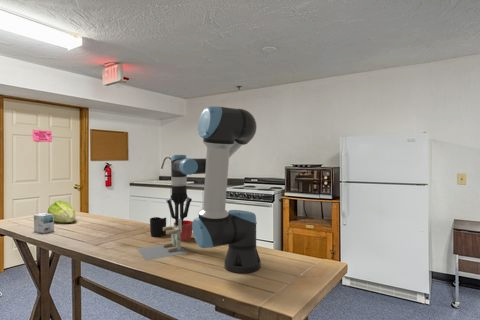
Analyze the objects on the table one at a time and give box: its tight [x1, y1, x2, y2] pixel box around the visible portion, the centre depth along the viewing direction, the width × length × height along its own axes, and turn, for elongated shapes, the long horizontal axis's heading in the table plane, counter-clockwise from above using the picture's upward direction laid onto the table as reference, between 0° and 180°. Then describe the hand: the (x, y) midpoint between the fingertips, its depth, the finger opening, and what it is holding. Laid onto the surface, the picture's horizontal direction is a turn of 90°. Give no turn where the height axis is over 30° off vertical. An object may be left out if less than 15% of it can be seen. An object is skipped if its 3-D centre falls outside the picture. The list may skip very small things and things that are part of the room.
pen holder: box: [149, 216, 167, 238], centre depth 175 cm, size 9×9×10 cm
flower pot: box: [173, 219, 193, 242], centre depth 165 cm, size 11×11×10 cm
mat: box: [136, 244, 189, 261], centre depth 144 cm, size 20×20×1 cm
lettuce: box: [46, 200, 76, 224], centre depth 214 cm, size 15×24×16 cm
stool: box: [162, 225, 182, 252], centre depth 147 cm, size 10×6×10 cm, turn 29°
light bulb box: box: [33, 212, 55, 234], centre depth 185 cm, size 11×7×11 cm, turn 63°
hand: (179, 231), depth 149 cm, fingers closed
